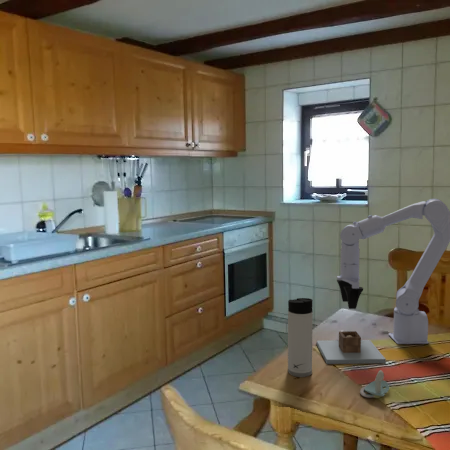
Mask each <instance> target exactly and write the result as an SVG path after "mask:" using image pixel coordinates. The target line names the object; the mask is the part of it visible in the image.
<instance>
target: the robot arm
mask: <svg viewBox="0 0 450 450" xmlns="http://www.w3.org/2000/svg"><path fill="white" fill-rule="evenodd" d="M423 216H424V217H425V218H426V220H427V221H428V222H429V224H430V225H431V228H432V230H433V235H432V237H431V239H430V241H429V242H428V244H427V246H426V248H425V249H424V252H423V253H422V254H421V257H420V259H419V260H418V262H417V264H416V266H415V267H414V269H413V271H412V273H411V275H410V277H409V278H408V279H407V280H406V282H405V283H404V285H403V286H402V287H400V288H399V289H398V290H397V291H396V294H395V297H396V298H395V300H396V301H395V307H394V309H393V328H392V330H393V331H392V332H390V333H388V336H389V337H390V338H391V339H392V340H393V341H394V342H395V343H396V344H398V345H414V344H415V345H417V344H419V345H420V344H429V341H428V340H429V339H428V335H429V334H428V333H429V319H428V315H427V314H426V312H425V311H424V310H423V311H422V310H420V309H419V302H420V301H419V300H420V298H421V296H422V294H423V290H424V288H425V286H426V284H427V282H428V281H429V279H430V277H431V275H433V272H434V271H435V268H436V267H437V265H438V264H439V261H440V260H441V257H442V256H443V255H444V252H445V251H446V250H447V247H448V245H449V244H450V210H449V208H448V205H447V204H446V203H444V201H442V200H441V199H438V198H435V197H433V198H430V199H427V200H426V201H425V200H423V201H419V202H415V203H412V204H409V205H407V206H405V207H402V208H400V209H398V210H395V211H393V212H391V213H388V214H386V215H383V216H380V215H377V214H374V215H373V214H370V215H367V218H364V219H362V220H359V221H357V220H355V221H353V222H352V224H348V225H345V226H344V227H343V229H342V230H341V231H340V234H339V236H340V240H341V242H340V246H341V248H340V275H337V276H336V282H337V284H338V286H339V287H338V288H339V290H340V295H341V301H342V302H343V303H345V302H346V303H347V306H348V309H349V310H353V309H354V310H356V309H357V306H358V304H359V303H358V301H359V298H360V296H361V295H362V292H363V291H364V287H363V286H360V279H361V278H360V252H361V251H360V240H366V239H368V238H372V237H373V236H376V235H377V236H378V234H382V233H384V231H385V230H386V227H388V226H389V227H390V226H392V225H393V224H398V223H399V222H403V221H406V220H409V219H411V218H413V219H418V220H424V217H423Z"/></svg>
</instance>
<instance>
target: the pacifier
mask: <svg viewBox="0 0 450 450" xmlns="http://www.w3.org/2000/svg"><path fill="white" fill-rule="evenodd" d="M384 379H385V374H384V372H383V370H380V369H379V371H377V374H376V376H375V379H374V380H373V381H372V382H370V383H368V384H367V385H364V386H363V387H362V388H360V389H359V390H360V391H359V393H360V395H361V396H362V397H364V398H368V399H369V398H374V399H379V398H381V397H384V396H385V394H387V393H388V392H389V391H390V385H389V383H388V381H386V380H384ZM366 392H367V393H366Z"/></svg>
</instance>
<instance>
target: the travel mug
mask: <svg viewBox="0 0 450 450" xmlns="http://www.w3.org/2000/svg"><path fill="white" fill-rule="evenodd" d="M287 303H288V304H287V305H288V308H287V309H288V310H287V372H288V374H290V375H291V376H293V377H297V378H306V377H309V376H311V375H312V373H313V315H314V314H313V311H314V310H313V299H312V298H308V297H306V298H305V297H297V298H295V299H289V300H288V302H287Z"/></svg>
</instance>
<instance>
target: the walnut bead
mask: <svg viewBox="0 0 450 450" xmlns="http://www.w3.org/2000/svg"><path fill="white" fill-rule="evenodd" d="M348 335H351V336H352V337H347V336H348ZM338 340H339V347H340V349H341V351H342V352H343V353H361V340H362V338H361V335H360V334H359V333H358V332H357V331H356V330H354V331H353V330H352V331H351V330H349V331H348V330H347V331H345V330H344V331H341V330H340V331H338Z"/></svg>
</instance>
